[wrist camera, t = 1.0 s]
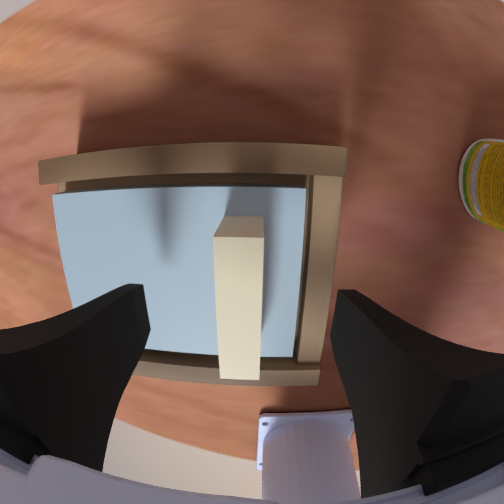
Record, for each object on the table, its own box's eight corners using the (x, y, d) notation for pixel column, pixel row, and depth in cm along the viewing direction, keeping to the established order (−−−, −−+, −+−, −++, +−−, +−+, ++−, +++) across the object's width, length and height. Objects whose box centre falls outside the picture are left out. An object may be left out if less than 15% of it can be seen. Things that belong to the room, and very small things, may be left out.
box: (309, 346, 18) (317, 385, 15) (103, 333, 18) (81, 364, 15) (327, 147, 14) (346, 147, 11) (76, 155, 14) (38, 161, 11)
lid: (290, 343, 16) (297, 398, 12) (91, 328, 16) (58, 370, 12) (302, 184, 13) (320, 201, 9) (65, 190, 13) (12, 208, 9)
